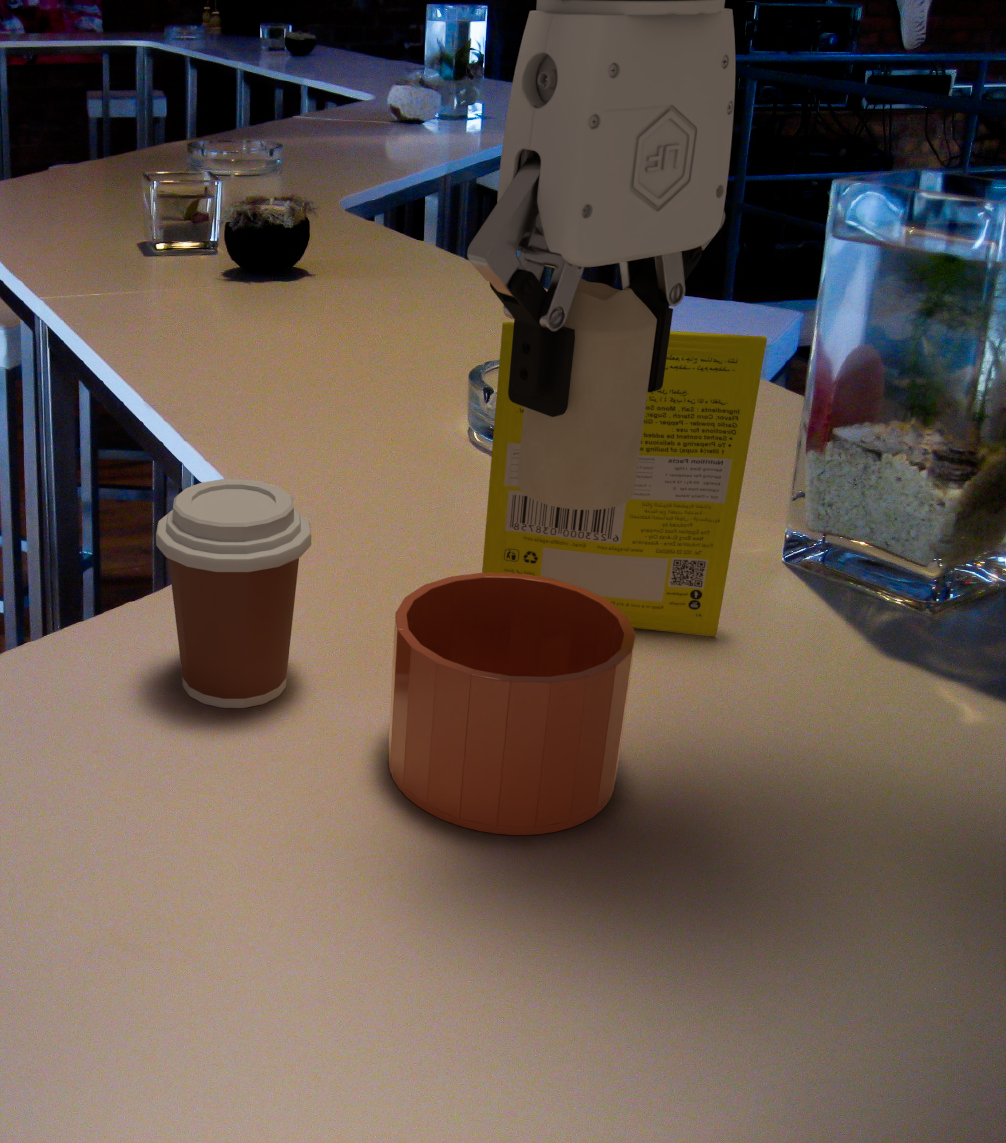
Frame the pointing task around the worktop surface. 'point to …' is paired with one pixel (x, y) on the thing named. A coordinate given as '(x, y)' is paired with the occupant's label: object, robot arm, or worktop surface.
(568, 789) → the pot cup
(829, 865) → the worktop surface
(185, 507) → the coffee cup
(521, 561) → the food package
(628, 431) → the candle
